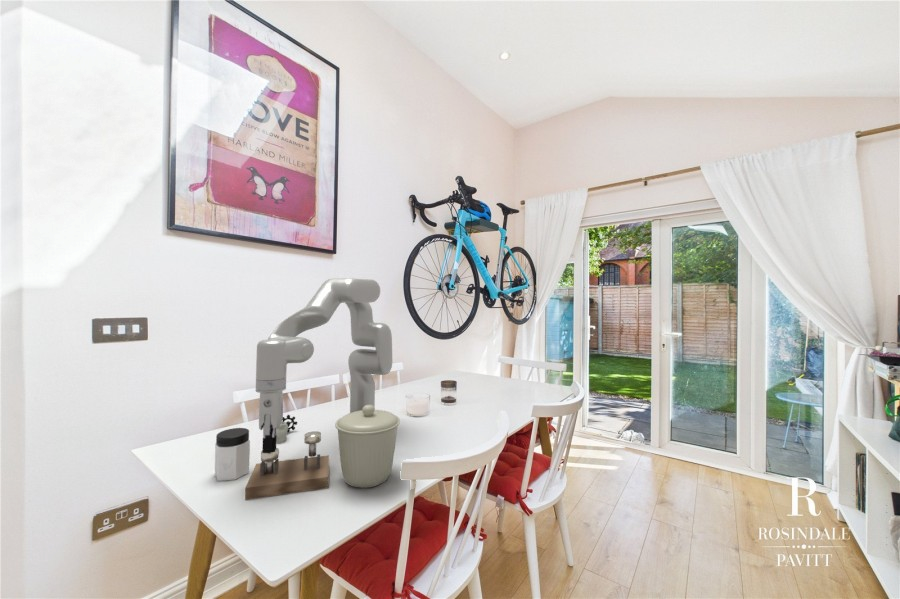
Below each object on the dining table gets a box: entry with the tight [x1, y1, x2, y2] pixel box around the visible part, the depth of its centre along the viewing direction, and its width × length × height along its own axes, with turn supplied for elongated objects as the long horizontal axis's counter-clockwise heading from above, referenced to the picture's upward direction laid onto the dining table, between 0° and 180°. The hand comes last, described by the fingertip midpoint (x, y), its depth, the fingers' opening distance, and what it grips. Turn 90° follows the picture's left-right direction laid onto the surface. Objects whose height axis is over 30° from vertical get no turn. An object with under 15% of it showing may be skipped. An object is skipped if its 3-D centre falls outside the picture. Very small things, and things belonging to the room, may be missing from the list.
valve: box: [276, 414, 298, 444], centre depth 130 cm, size 7×7×12 cm
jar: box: [214, 427, 251, 482], centre depth 102 cm, size 9×8×12 cm
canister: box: [334, 405, 401, 489], centre depth 101 cm, size 18×18×21 cm
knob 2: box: [303, 430, 322, 458], centre depth 101 cm, size 4×4×6 cm
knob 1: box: [260, 447, 280, 474], centre depth 97 cm, size 4×4×6 cm
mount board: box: [244, 454, 330, 501], centre depth 99 cm, size 20×14×6 cm
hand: (269, 451), depth 97 cm, fingers closed
